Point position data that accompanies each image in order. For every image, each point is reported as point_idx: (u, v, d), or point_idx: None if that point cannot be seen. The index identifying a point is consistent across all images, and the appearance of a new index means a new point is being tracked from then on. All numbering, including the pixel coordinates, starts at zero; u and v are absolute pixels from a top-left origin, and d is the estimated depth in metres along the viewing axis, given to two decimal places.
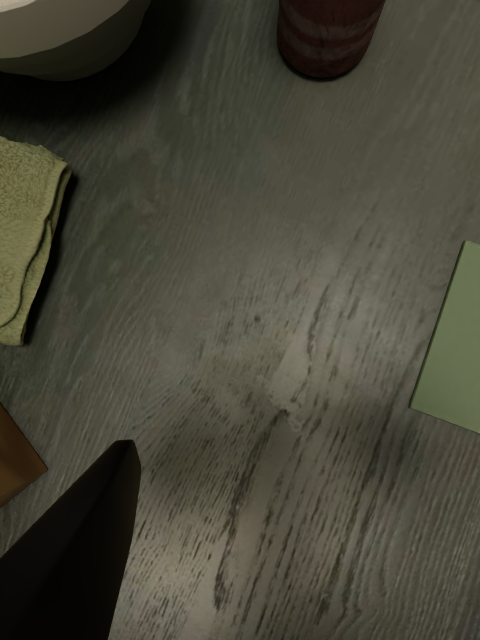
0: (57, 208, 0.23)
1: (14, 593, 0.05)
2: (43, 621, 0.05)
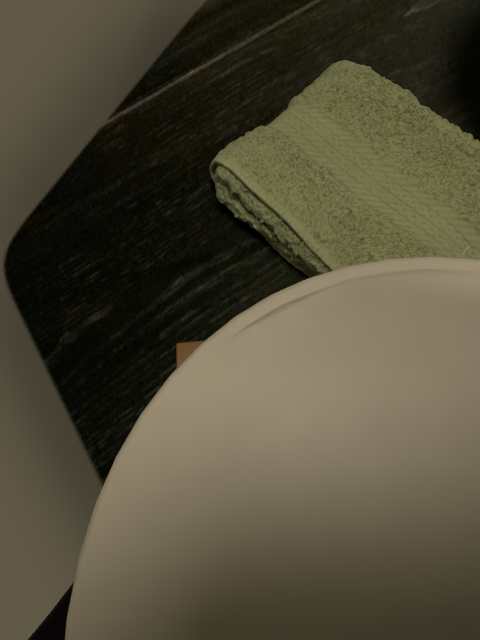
0: None
1: None
2: None
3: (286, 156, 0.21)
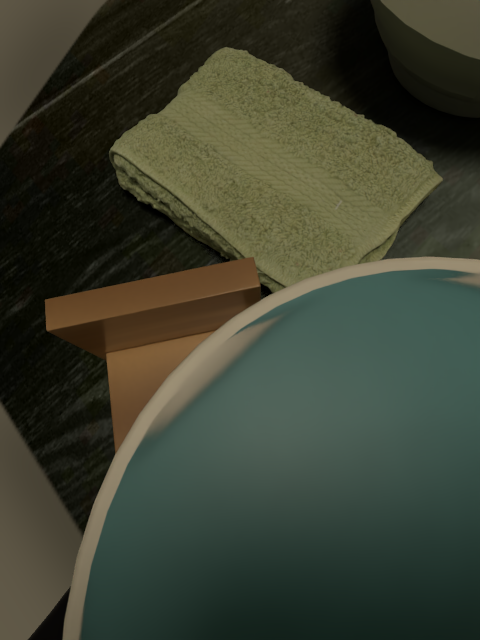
0: (408, 215, 0.22)
1: None
2: None
3: (174, 139, 0.23)
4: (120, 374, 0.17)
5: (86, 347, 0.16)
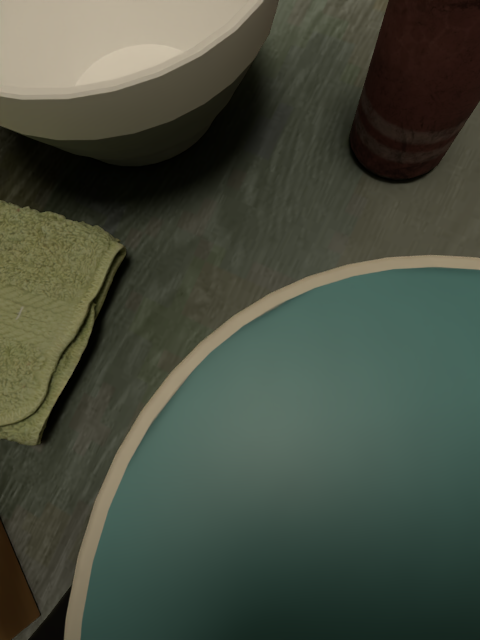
0: (105, 291, 0.21)
1: None
2: None
3: None
4: None
5: None
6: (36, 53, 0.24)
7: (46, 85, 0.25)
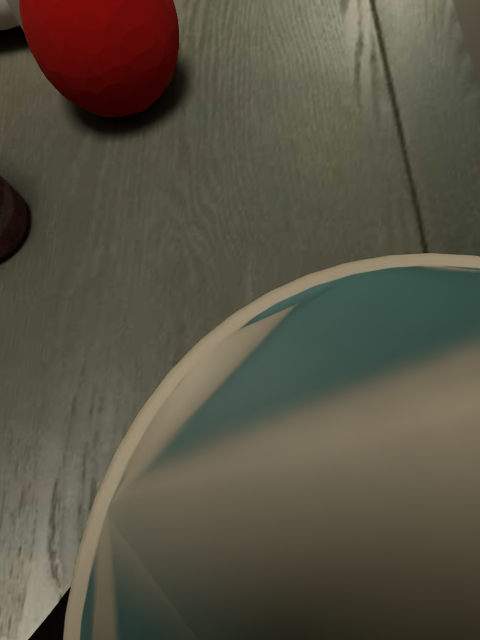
0: None
1: None
2: None
3: None
4: None
5: None
6: None
7: None
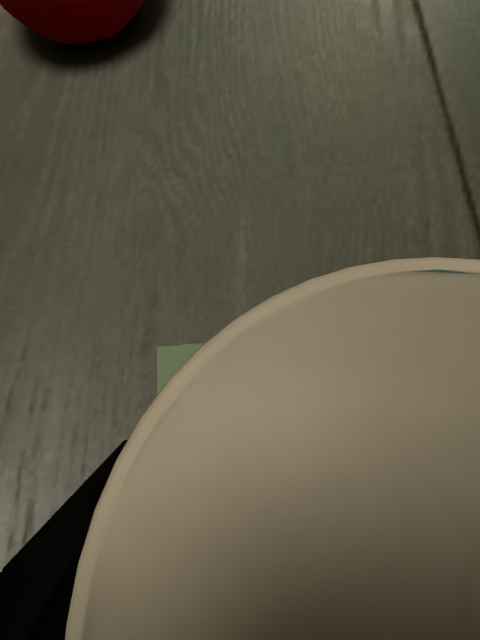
0: None
1: (29, 592, 0.05)
2: (57, 620, 0.05)
3: None
4: None
5: None
6: None
7: None
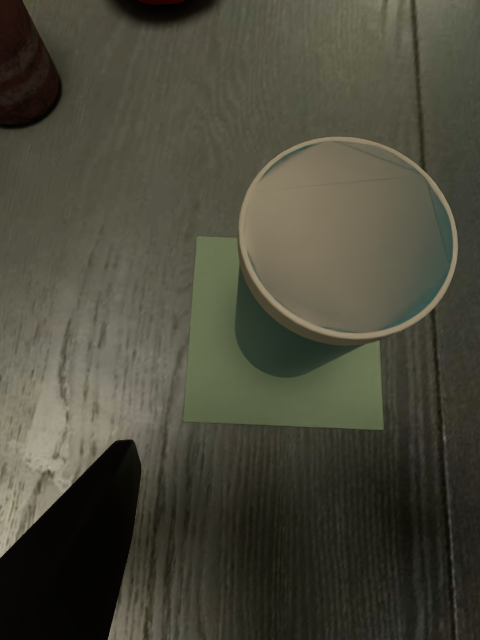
0: None
1: (14, 593, 0.05)
2: (43, 621, 0.05)
3: None
4: None
5: None
6: None
7: None
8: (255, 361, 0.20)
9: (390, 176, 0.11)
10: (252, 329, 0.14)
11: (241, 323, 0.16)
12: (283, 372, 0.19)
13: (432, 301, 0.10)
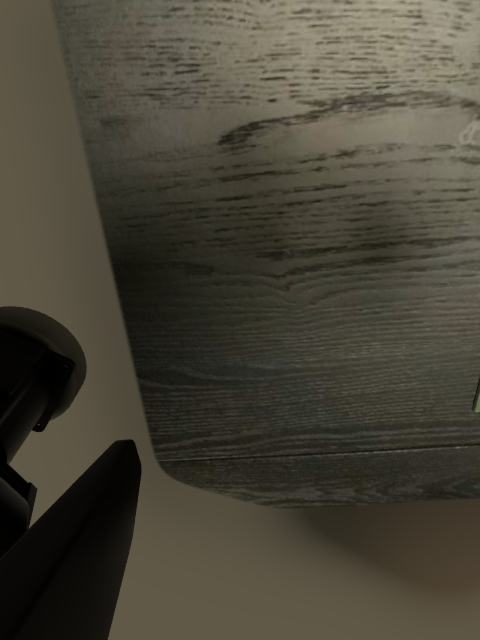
0: None
1: (14, 593, 0.05)
2: (43, 621, 0.05)
3: None
4: None
5: None
6: None
7: None
8: None
9: None
10: None
11: None
12: None
13: None
